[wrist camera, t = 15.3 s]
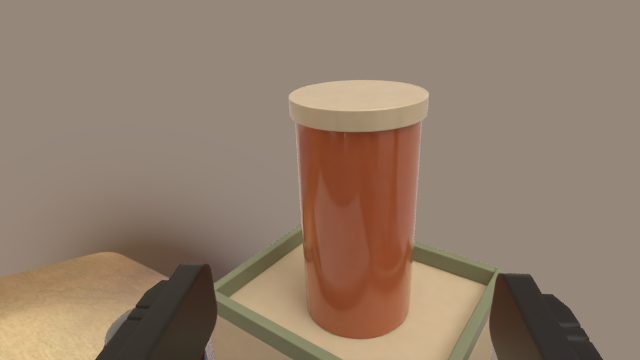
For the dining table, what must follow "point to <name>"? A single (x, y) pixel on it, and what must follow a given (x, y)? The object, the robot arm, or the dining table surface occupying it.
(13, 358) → the dining table surface
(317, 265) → the terracotta jar
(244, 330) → the cabinet
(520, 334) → the robot arm
